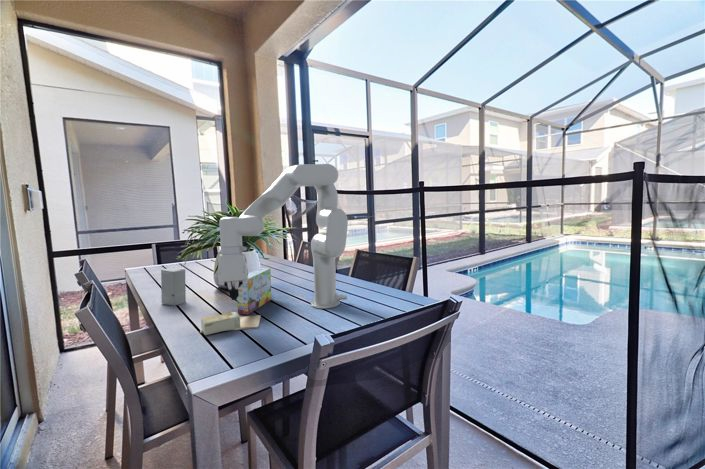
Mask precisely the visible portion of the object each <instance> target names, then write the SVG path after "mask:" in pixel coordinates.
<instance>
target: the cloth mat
mask: <svg viewBox="0 0 705 469" xmlns="http://www.w3.org/2000/svg"><path fill="white" fill-rule="evenodd" d="M261 317H262V315H260V314H258V315H246V316H240V327H239V328H234V329H230V330H226V331H227V332H228V331H238V330H249V329H259V328H260V322H261ZM226 331H225V332H226ZM199 333H200V334H204V333H203V331H202V328H200V330H199Z"/></svg>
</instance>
